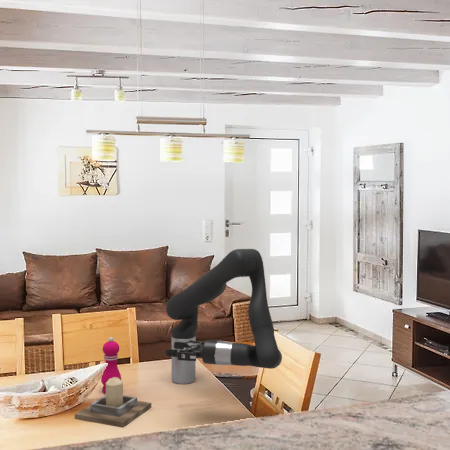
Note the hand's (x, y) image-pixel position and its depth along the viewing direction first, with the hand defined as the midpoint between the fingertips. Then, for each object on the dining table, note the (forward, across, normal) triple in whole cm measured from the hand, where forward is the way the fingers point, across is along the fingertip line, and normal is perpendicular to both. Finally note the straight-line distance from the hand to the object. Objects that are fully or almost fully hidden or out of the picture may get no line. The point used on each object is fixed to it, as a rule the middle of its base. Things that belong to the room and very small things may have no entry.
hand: (170, 348), depth 191 cm
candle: (+18, +3, +21) cm, 28 cm away
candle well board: (+18, +3, +22) cm, 29 cm away
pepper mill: (+27, -16, +23) cm, 39 cm away
